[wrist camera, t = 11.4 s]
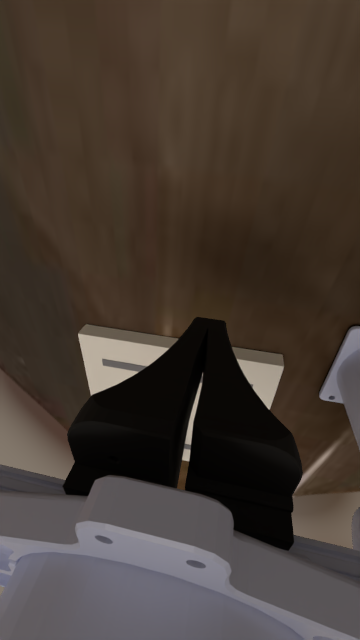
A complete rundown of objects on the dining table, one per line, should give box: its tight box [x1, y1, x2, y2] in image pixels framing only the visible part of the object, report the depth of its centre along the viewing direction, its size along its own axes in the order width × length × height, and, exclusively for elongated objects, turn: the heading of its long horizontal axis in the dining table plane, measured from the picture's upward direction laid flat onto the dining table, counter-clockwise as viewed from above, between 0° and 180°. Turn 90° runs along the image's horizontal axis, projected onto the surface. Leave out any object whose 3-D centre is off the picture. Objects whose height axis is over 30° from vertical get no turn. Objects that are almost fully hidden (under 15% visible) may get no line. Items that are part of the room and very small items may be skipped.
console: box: [78, 324, 284, 461], centre depth 30 cm, size 18×17×2 cm
